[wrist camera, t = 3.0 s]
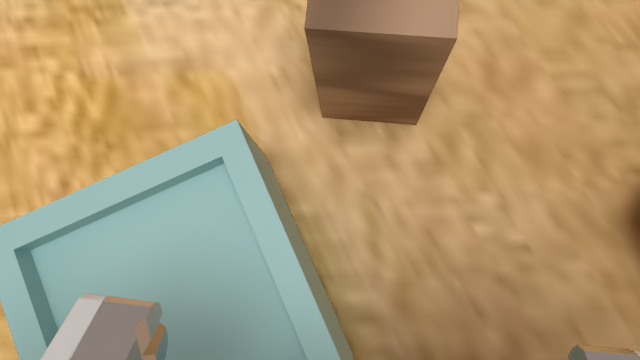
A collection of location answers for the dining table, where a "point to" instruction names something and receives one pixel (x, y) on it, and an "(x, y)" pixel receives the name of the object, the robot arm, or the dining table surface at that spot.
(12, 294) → the teal box
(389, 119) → the walnut block
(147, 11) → the dining table surface
